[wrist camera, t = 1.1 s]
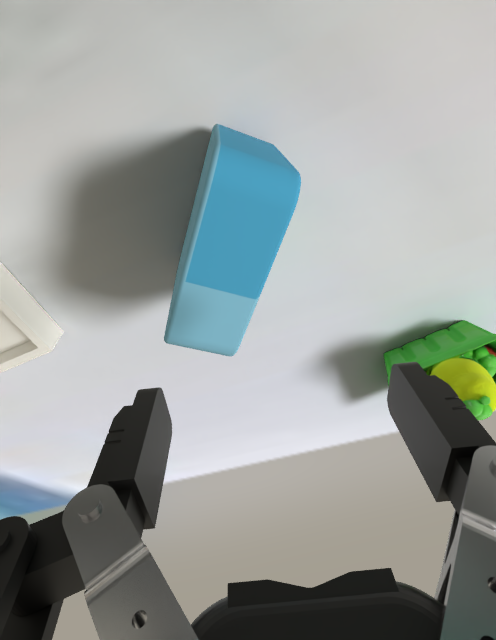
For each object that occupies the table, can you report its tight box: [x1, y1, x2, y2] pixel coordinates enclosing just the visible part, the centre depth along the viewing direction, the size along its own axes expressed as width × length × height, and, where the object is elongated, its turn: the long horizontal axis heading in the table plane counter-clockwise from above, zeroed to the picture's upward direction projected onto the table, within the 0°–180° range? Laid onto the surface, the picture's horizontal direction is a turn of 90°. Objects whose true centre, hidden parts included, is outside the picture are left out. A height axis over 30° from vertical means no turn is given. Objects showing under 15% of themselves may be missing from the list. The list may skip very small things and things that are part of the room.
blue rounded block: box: [164, 124, 301, 356], centre depth 24 cm, size 12×4×12 cm, turn 161°
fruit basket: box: [384, 320, 496, 420], centre depth 35 cm, size 11×9×11 cm
